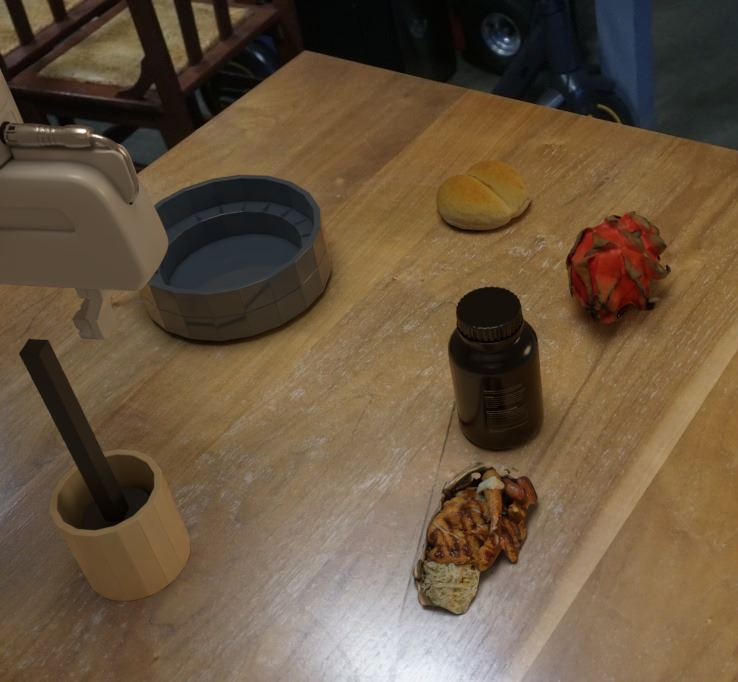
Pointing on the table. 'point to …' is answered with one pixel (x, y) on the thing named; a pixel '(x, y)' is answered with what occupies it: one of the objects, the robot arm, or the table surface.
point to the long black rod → (80, 440)
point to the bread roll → (483, 196)
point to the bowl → (237, 257)
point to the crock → (124, 531)
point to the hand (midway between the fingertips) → (25, 328)
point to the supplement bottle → (495, 369)
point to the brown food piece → (471, 534)
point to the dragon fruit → (616, 266)
